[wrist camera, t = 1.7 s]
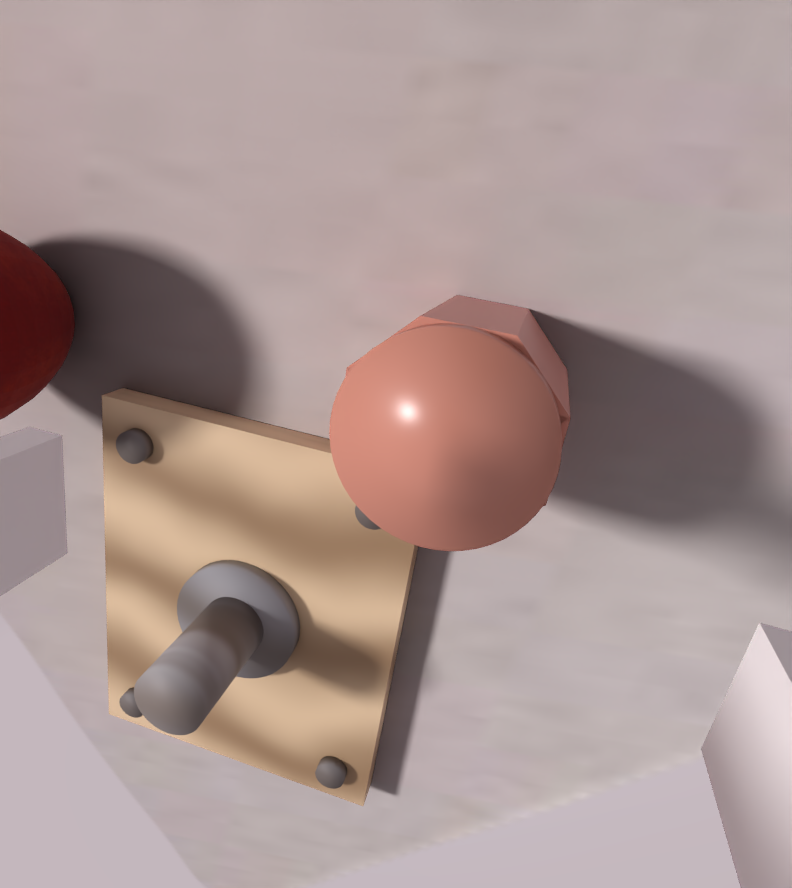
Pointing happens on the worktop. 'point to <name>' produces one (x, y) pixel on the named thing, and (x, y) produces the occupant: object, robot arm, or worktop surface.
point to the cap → (453, 426)
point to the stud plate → (247, 593)
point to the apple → (30, 324)
